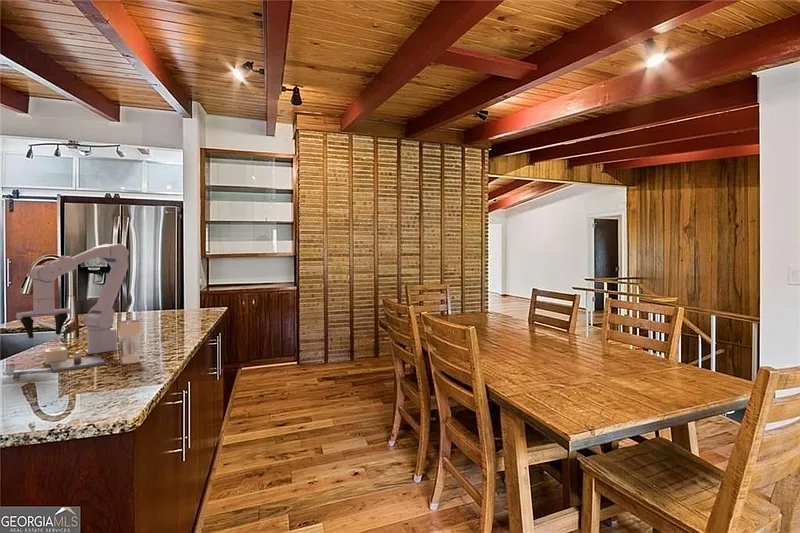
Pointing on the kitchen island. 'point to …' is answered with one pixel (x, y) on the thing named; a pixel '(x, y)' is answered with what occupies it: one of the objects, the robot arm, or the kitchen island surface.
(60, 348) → the block
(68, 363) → the flat plate
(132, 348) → the beer glass
